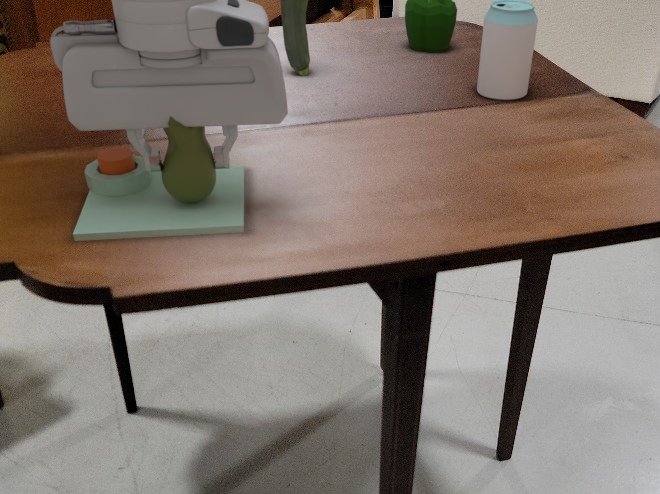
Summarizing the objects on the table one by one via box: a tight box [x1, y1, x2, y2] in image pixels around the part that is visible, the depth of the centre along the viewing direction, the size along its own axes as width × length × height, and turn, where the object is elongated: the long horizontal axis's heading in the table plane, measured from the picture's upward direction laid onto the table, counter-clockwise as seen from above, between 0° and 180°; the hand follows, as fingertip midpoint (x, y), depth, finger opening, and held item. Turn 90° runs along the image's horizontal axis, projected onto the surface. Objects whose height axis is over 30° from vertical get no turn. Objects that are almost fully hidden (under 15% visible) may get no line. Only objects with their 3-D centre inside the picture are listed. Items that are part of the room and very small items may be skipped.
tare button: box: [96, 147, 136, 175], centre depth 76 cm, size 4×4×2 cm
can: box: [476, 0, 539, 101], centre depth 100 cm, size 7×7×12 cm
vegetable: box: [280, 0, 311, 77], centre depth 104 cm, size 4×4×20 cm
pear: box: [161, 116, 216, 203], centre depth 72 cm, size 6×5×10 cm
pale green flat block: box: [72, 154, 246, 242], centre depth 75 cm, size 16×14×3 cm
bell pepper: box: [404, 0, 458, 54], centre depth 118 cm, size 8×8×10 cm
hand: (189, 168), depth 73 cm, fingers closed on pear, 5 cm apart
